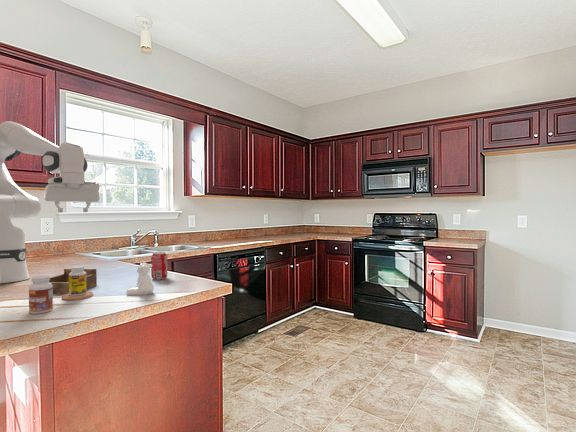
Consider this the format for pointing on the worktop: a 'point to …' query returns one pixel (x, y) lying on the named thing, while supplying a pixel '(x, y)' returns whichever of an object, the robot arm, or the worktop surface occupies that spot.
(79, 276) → the supplement bottle
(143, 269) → the seated beast figurine
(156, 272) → the soda can
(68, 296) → the tan oval disc
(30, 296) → the pill bottle
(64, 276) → the frame
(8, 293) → the worktop surface
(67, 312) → the worktop surface
